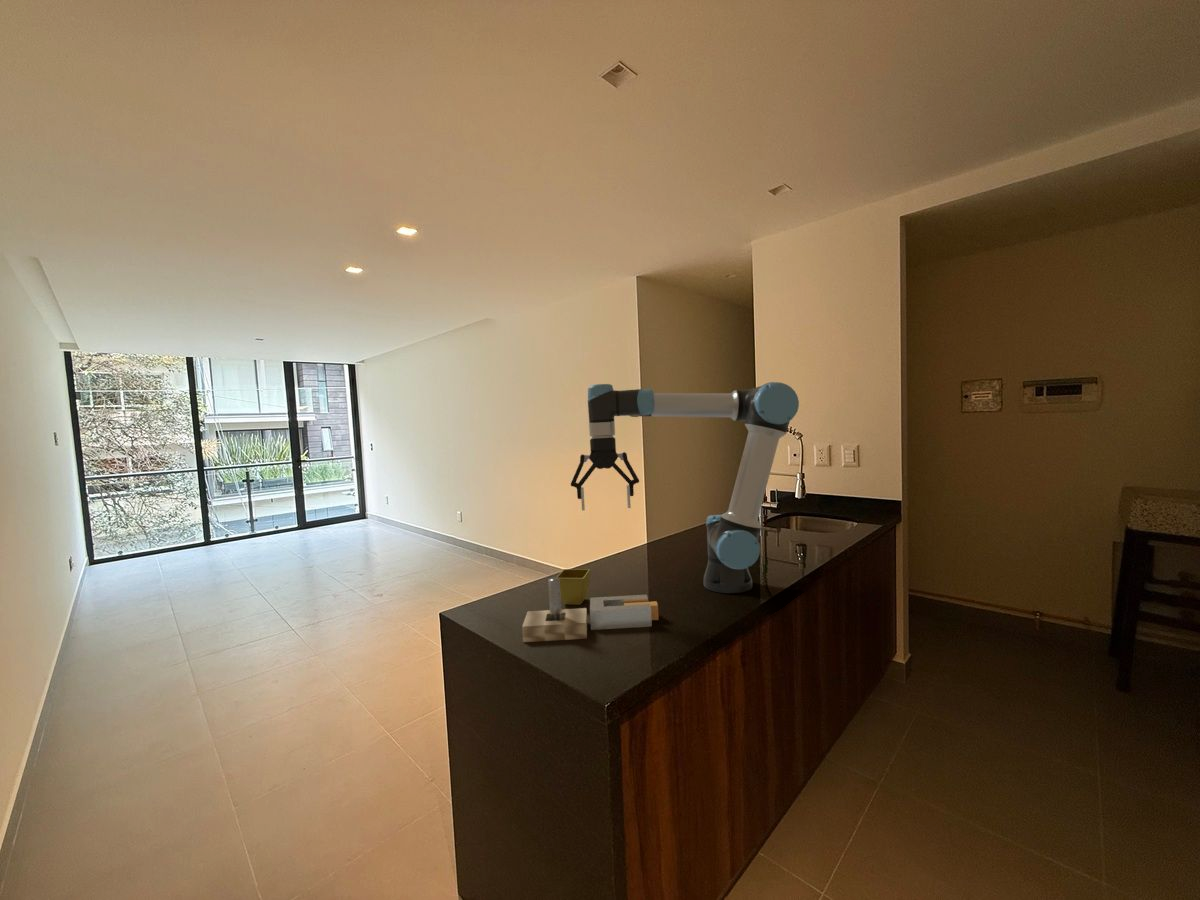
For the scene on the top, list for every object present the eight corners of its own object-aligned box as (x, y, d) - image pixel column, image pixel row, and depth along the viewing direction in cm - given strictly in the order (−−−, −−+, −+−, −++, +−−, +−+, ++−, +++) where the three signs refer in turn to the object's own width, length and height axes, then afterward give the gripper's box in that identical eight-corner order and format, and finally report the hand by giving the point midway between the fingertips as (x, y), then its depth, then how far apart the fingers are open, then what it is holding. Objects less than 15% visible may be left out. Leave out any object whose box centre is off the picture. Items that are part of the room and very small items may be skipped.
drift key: (657, 615, 131) (656, 601, 131) (658, 619, 128) (657, 605, 128) (624, 617, 131) (623, 603, 131) (625, 621, 128) (624, 607, 128)
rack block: (587, 622, 129) (586, 608, 129) (586, 638, 119) (586, 622, 119) (528, 625, 129) (527, 611, 129) (523, 642, 119) (522, 626, 119)
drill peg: (563, 629, 126) (560, 577, 125) (562, 634, 123) (559, 580, 122) (551, 629, 126) (548, 577, 125) (550, 634, 123) (547, 581, 122)
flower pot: (585, 608, 140) (583, 577, 140) (556, 607, 142) (555, 577, 142) (591, 597, 149) (590, 569, 148) (564, 596, 150) (563, 568, 150)
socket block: (647, 611, 135) (646, 594, 134) (651, 626, 125) (650, 607, 124) (591, 615, 134) (590, 597, 134) (590, 629, 124) (589, 611, 124)
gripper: (643, 434, 144) (646, 504, 145) (561, 439, 144) (565, 508, 145) (646, 435, 137) (649, 508, 138) (559, 439, 136) (563, 512, 137)
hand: (606, 508), depth 141 cm, fingers open, 13 cm apart
